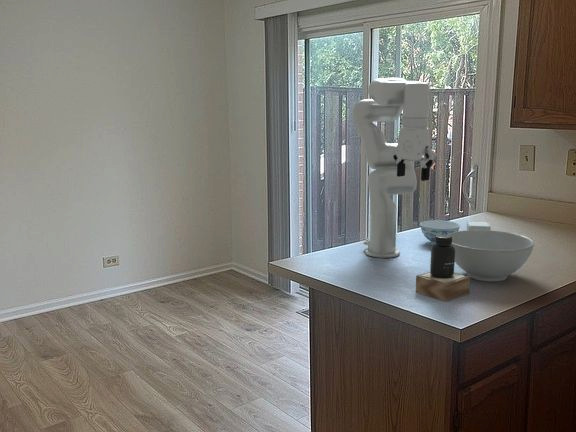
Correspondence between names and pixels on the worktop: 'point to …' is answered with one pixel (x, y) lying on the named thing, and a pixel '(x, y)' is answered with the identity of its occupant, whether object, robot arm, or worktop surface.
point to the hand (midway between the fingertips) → (412, 178)
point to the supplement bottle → (442, 257)
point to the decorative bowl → (490, 253)
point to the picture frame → (443, 286)
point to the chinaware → (438, 228)
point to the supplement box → (478, 226)
